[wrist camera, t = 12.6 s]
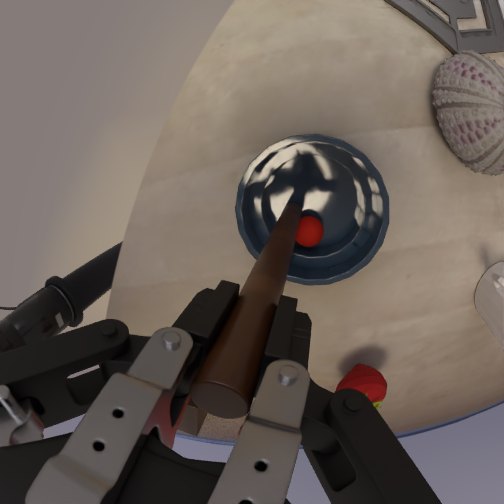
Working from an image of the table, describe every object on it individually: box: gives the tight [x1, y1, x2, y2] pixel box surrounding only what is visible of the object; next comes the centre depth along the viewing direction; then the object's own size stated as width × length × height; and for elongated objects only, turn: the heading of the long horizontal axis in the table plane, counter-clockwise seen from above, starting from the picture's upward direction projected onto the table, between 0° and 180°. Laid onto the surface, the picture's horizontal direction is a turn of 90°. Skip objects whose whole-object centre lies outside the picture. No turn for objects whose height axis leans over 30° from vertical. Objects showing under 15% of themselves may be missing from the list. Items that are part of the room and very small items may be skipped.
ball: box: [296, 216, 324, 247], centre depth 26 cm, size 3×3×3 cm
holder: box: [177, 397, 207, 436], centre depth 40 cm, size 10×10×7 cm
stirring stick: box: [189, 203, 302, 419], centre depth 17 cm, size 2×2×22 cm
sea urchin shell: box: [432, 50, 504, 176], centre depth 15 cm, size 13×14×8 cm
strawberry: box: [335, 364, 387, 408], centre depth 29 cm, size 6×8×10 cm
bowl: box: [235, 134, 389, 285], centre depth 25 cm, size 13×13×6 cm
